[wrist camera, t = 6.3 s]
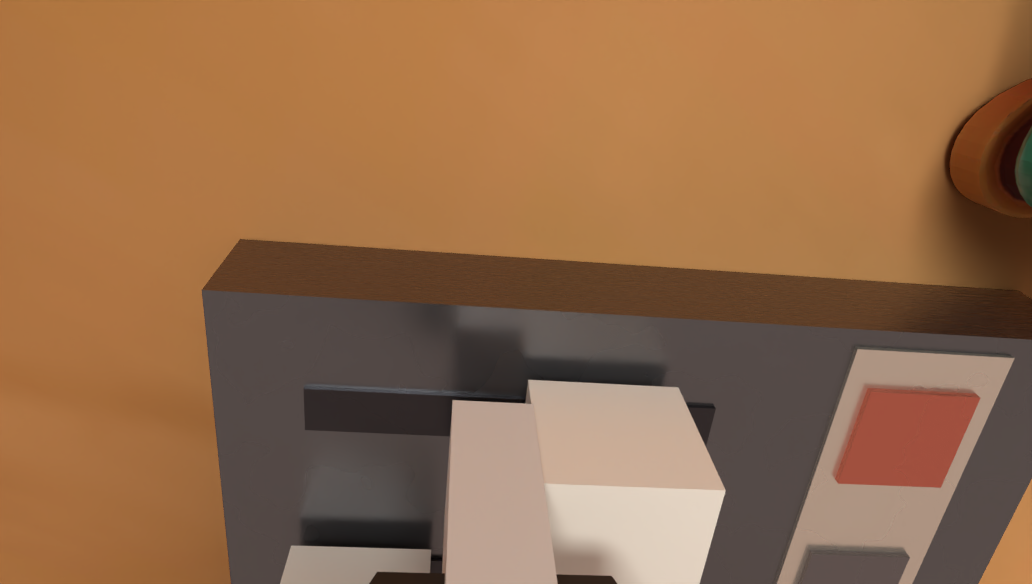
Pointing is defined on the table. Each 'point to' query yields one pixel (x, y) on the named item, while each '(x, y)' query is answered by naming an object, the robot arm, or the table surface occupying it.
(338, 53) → the table surface
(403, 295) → the switch panel
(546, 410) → the switch
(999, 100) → the binoculars
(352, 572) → the switch
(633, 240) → the table surface
